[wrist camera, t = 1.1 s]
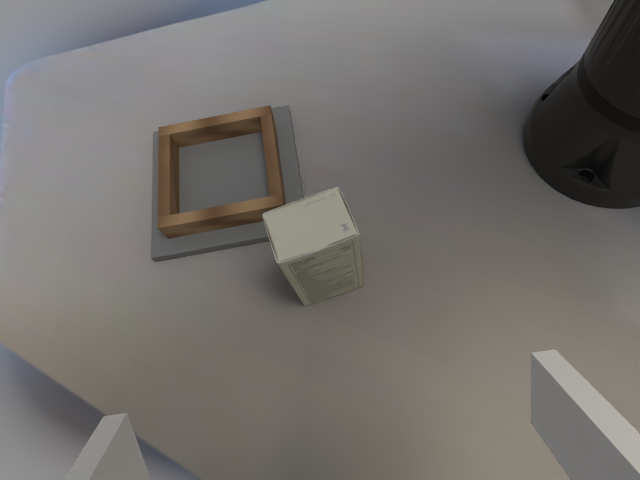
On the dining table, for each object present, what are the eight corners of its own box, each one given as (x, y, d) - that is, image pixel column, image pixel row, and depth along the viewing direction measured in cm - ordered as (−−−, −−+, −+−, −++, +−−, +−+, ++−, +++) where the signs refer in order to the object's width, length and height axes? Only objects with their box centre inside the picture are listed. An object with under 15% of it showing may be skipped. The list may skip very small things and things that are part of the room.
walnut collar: (274, 120, 48) (270, 105, 46) (287, 216, 43) (283, 204, 41) (168, 141, 49) (158, 127, 46) (168, 238, 44) (157, 228, 41)
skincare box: (349, 247, 42) (341, 182, 31) (365, 287, 40) (363, 234, 29) (289, 268, 42) (259, 210, 31) (302, 310, 40) (276, 264, 29)
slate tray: (290, 111, 50) (288, 105, 49) (309, 233, 43) (307, 229, 42) (157, 137, 50) (153, 132, 50) (155, 261, 44) (151, 258, 43)
